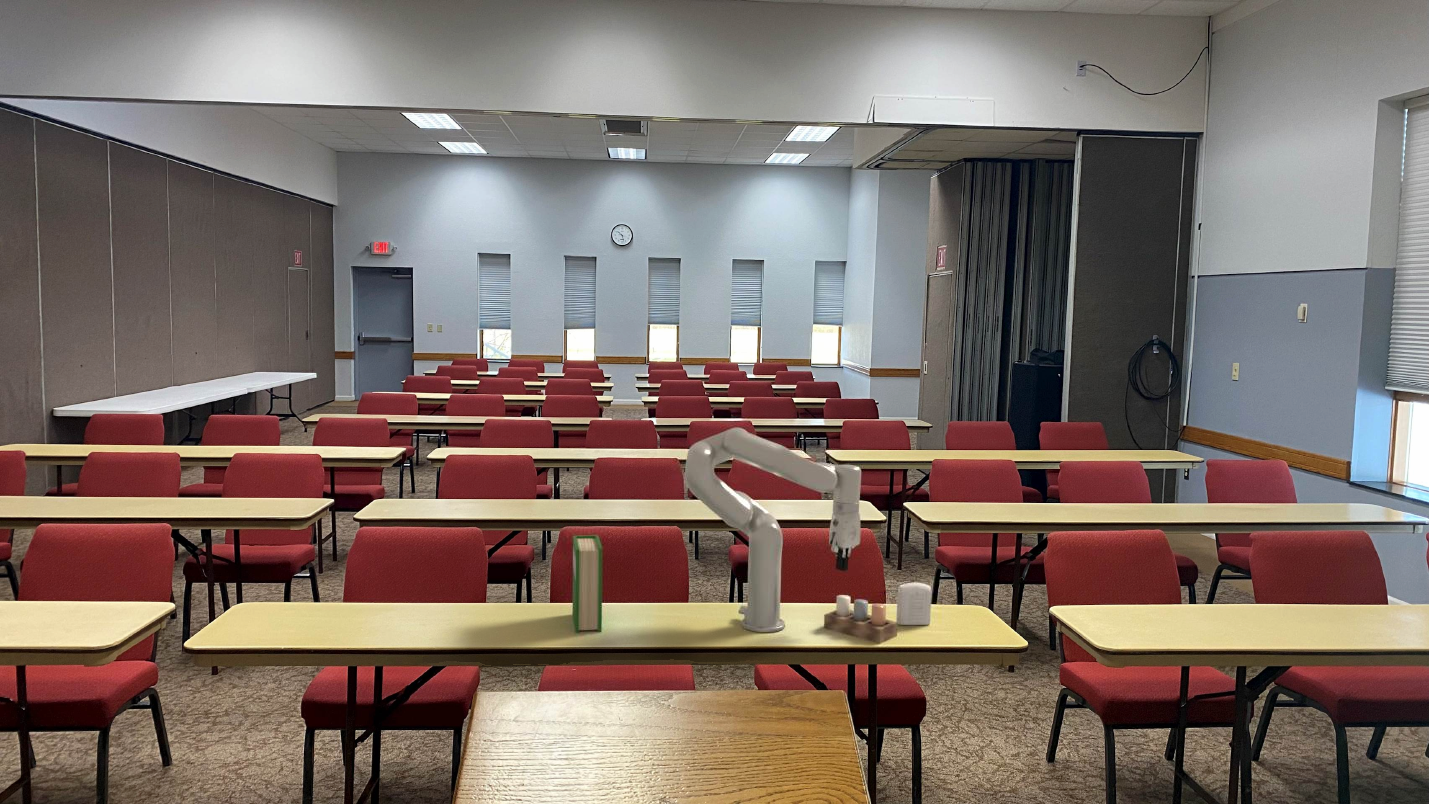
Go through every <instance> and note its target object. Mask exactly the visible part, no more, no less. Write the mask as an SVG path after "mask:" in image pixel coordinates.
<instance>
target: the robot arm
mask: <svg viewBox="0 0 1429 804" xmlns="http://www.w3.org/2000/svg"><path fill="white" fill-rule="evenodd" d="M731 459H734V460H736V461H739V462H741V463H744V464H747V465H750V466H752V467H754V468H758V469H760V470H763V471H765V472H768V473H771V474H772V475H773V474H774V475H775V476H777V477H780V478H783V479H786V480H788V481H790V482H793V483H796V485H797V484H798V485H799V486H803V487H805V488H807V489H811V490H812V491H816V492H819V493H824V494H825V493H829V492H831V491H833V498H832V499H833V500H832V514H831V518H830V519H831V520H830V526H829V534H828V535H829V537H828V543H829V547H830V546H831V548H830V550H831V552H833V553H835V557H836V559H835V561H836V562H835V569H836V570H839V571H842V572H845V571H848V570H849V561H850V560H849V559H850V556H851V551H852V550H853V549H854V548H856V546H859V545H860V543H861V515H860V512H859V511H860V498H861V496H860V495H861V483H862V469H861V468H860V467H859V466H858V465H852V464H839V465H838V464H834V463H833V464H832V463H827V462H821V461H818V462H815V461H812V460H810V459H807V458H805V457H803V456H800V455H798V454H797V453H795V452H793V451H792V450H790V449H789V448H787V447H786V446H783V445H782V444H779V443H776V442H773V441H771V440H769V439H766V438H763V437H760V436H758V435H755V434H753V433H750V432H748V431H747V430H746V429H745V428H741V427H732V428H730V429H727V430H725V431H723V432H719V433H718V434H715V435H712V436H709V437H706V438H704V439H701V440H699V441H697V442H695V443H693V444H692V445H691V446H690V448H689V449H688V451H687V455H686V459H685V460H686V461H685V467H684V477H685V482H686V485H687V487H688V489H689V490H690V492H691V493H692V494H693V495H694V496H695V497H696V498H697V499H698V500H699V501H700V502H701V503H702V504H704V505H705V506H706V507H707V508H708V509H710V511H711V512H713V514H715V515H717V516H718V517H719V519H721V520H723V522H725V524H726V525H728V526H729V527H732V528H734V529H738V530H739V531H740V532H742V533H743V534H745V535H746V536H747V537H748V561H747V562H748V563H747V565H748V567H747V569H748V570H747V604H746V605H741V606H740V608H739V609H738V611H737V612H738V614H741V615H743V616H744V618H743V619H742V620H741V626H742V627H743V628H744V629H746V630H748V631H751V632H756V633H757V632H758V633H772V632H773V633H775V632H780V631H782V630H783V629H784V628H785V627H786V626H785V625H786V622H785V621H784V620H783V619H782V618H781V617H780V616H781V588H782V587H781V583H782V582H781V581H782V574H781V573H782V572H781V571H782V551H783V544H784V543H783V541H784V539H783V532H782V528H781V527H780V524H779V523H778V521H777V519H776V518H775V517H774V516H773V515H772V514H771V513H770V512H768V511H767V510H766V509H765V508H763V507H762V506H761V505H760V504H759V503H757V502H756V501H755V500H754V499H753V498H751V497H750V496H749V495H748V494H746V493H745V492H742V491H739V490H734V489H732V488H731V487H730V486H729V485H728V484H726V483H725V481H723V480H722V479H720V477H718V476H717V475H716V473H715V467H716V466H717V465H718V464H721V463H725V462H727V461H729V460H731Z"/></svg>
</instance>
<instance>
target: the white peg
mask: <svg viewBox="0 0 1429 804" xmlns="http://www.w3.org/2000/svg"><path fill="white" fill-rule="evenodd" d="M835 610H836V615H838V616H842V617H848V616H850V610H851V596H849V595H847V594H846V595H844V594H839V595H836V609H835Z"/></svg>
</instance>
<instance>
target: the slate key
mask: <svg viewBox="0 0 1429 804" xmlns="http://www.w3.org/2000/svg"><path fill="white" fill-rule="evenodd" d="M853 611H854V617H853V620H857V621H860V622H865V621H867V619H868V615H869V601H868V600H866V599H861V598H859V599H858V598H857V599H854V601H853Z"/></svg>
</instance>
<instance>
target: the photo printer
mask: <svg viewBox="0 0 1429 804" xmlns="http://www.w3.org/2000/svg"><path fill="white" fill-rule="evenodd" d="M896 599H897V601H896V619H895V622H897V625H899V626H917V625H918V626H923V625H924V626H925V625H927V626H928V625H929V626H930V624H931V611H932V610H931V608H932V587H931V586H930V585H929V584H926V583H921V582H907V583H903V584H901V585H899V586H898V588H897V598H896Z"/></svg>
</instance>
